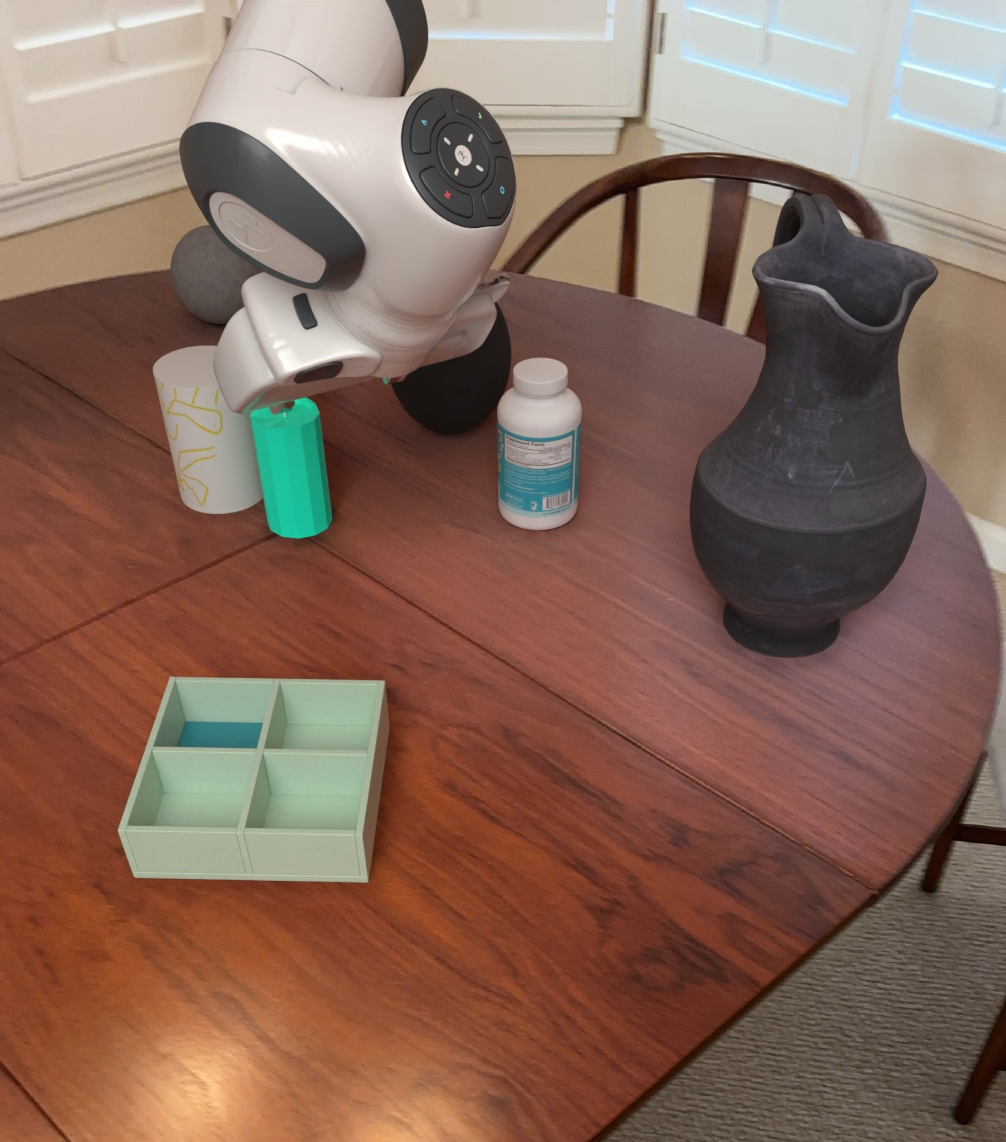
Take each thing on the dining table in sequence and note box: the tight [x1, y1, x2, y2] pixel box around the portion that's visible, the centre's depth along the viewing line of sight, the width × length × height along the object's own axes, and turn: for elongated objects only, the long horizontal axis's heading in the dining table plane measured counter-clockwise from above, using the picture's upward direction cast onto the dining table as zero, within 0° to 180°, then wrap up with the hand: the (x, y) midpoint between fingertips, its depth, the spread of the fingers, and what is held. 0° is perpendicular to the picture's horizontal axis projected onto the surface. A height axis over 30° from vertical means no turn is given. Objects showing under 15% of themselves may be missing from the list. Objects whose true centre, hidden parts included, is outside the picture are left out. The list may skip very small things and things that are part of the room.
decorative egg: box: [390, 301, 512, 434], centre depth 115 cm, size 12×12×15 cm
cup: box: [152, 345, 264, 515], centre depth 108 cm, size 8×8×12 cm
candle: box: [250, 397, 333, 539], centre depth 105 cm, size 6×6×12 cm
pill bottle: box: [496, 357, 583, 531], centre depth 105 cm, size 8×7×14 cm
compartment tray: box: [117, 676, 390, 884], centre depth 83 cm, size 16×16×5 cm
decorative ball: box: [169, 224, 261, 325], centre depth 134 cm, size 10×10×10 cm
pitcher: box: [689, 192, 939, 658], centre depth 89 cm, size 17×21×30 cm
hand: (334, 388), depth 90 cm, fingers open, 8 cm apart
